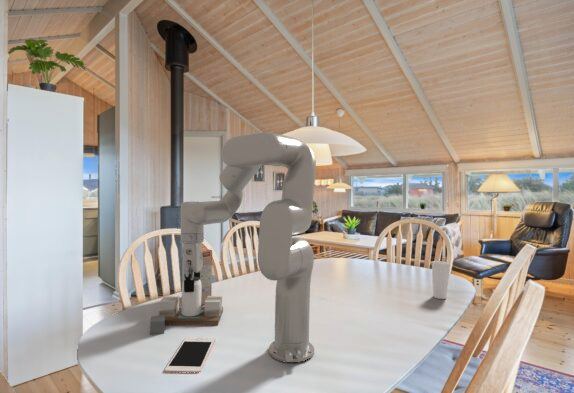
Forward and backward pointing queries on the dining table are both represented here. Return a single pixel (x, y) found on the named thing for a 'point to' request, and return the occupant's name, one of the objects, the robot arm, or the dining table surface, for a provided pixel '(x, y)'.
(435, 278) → the drinking glass
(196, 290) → the can
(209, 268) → the cracker box
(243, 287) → the dining table surface
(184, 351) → the cell phone
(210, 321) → the mounting board
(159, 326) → the block
